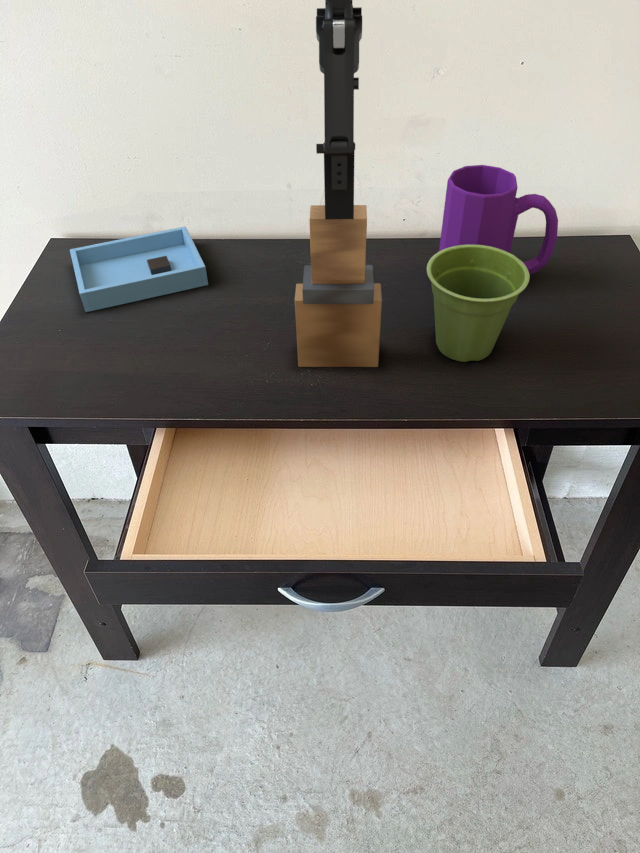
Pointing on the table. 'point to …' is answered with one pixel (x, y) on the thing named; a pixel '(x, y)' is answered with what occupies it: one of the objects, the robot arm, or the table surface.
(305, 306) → the square wooden block
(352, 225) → the brush
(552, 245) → the mug
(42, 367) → the table surface
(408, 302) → the table surface
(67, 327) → the table surface
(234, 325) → the table surface
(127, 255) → the pan
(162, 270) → the dark grey flat block
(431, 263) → the plant pot
